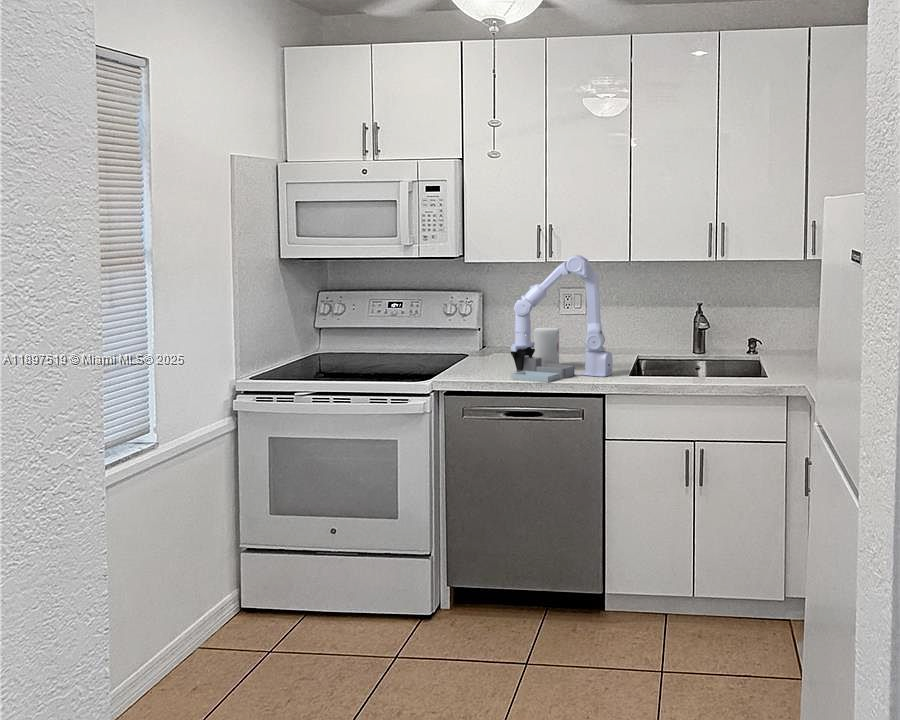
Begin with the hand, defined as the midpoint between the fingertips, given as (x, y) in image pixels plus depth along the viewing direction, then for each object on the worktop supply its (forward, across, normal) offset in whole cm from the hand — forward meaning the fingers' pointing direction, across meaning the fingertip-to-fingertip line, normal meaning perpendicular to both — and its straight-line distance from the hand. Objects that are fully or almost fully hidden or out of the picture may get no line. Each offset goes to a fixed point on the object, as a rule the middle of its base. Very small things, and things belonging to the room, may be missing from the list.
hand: (522, 368), depth 424 cm
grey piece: (+2, -17, +1) cm, 17 cm away
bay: (+2, 0, +13) cm, 13 cm away
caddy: (+2, 0, +3) cm, 3 cm away
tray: (+2, +10, +11) cm, 15 cm away
